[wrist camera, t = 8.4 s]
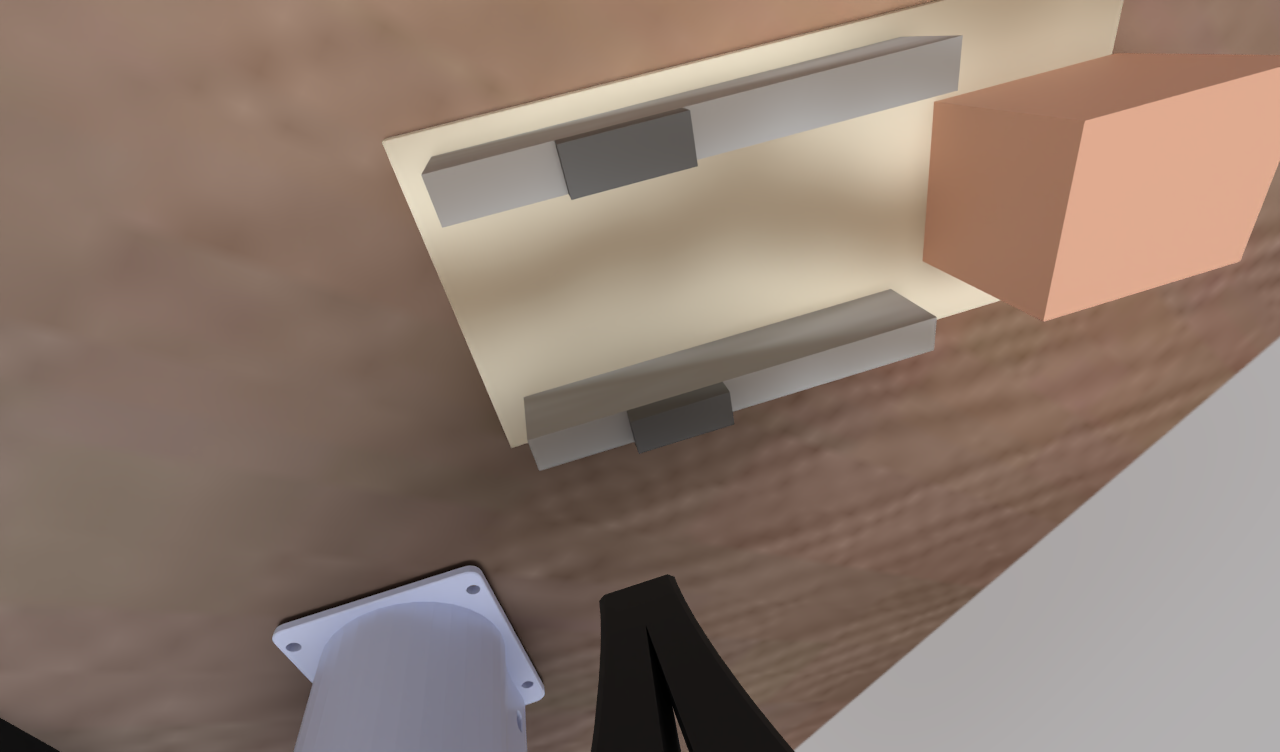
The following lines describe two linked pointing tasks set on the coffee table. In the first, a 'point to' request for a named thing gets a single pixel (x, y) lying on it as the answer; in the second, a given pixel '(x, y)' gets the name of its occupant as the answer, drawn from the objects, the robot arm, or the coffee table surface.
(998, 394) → the coffee table surface
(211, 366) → the coffee table surface
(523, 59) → the coffee table surface
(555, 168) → the chute
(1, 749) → the energy cube
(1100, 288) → the block
